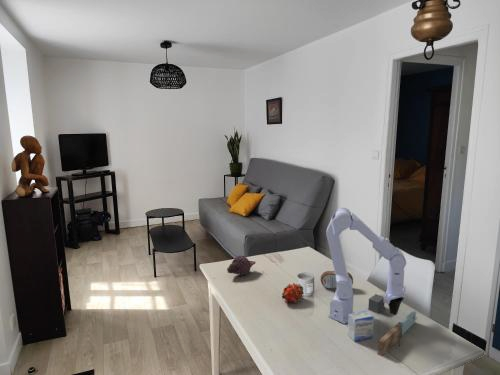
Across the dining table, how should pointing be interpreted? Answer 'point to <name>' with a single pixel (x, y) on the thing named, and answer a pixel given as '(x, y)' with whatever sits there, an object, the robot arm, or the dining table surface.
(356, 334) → the medicine box
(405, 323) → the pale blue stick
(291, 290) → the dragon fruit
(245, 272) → the purple toy animal
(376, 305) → the dark grey block
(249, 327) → the dining table surface
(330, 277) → the tin
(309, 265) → the dining table surface
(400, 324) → the brown wooden plank
